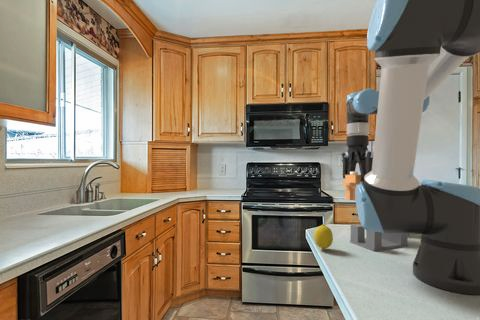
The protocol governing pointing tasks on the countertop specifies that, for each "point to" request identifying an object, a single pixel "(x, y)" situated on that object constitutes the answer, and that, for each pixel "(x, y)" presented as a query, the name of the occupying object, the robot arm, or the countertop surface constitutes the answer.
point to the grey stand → (377, 239)
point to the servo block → (351, 185)
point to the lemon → (323, 237)
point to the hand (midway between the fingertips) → (357, 198)
